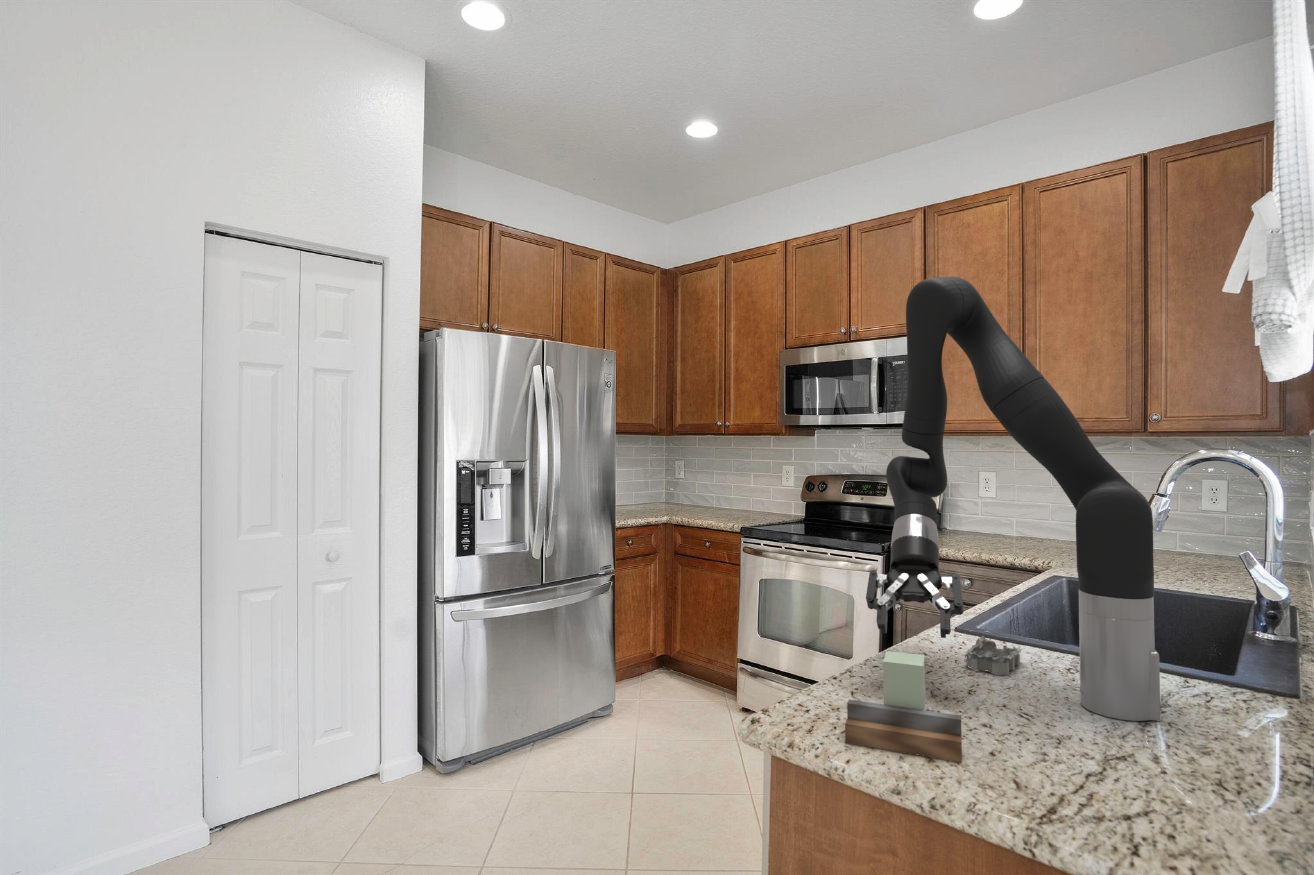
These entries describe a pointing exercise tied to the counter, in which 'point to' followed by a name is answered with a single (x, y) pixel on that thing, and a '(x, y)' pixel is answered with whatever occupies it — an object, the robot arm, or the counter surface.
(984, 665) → the grey scalloped block
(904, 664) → the green block
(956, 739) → the dock
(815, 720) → the counter surface
